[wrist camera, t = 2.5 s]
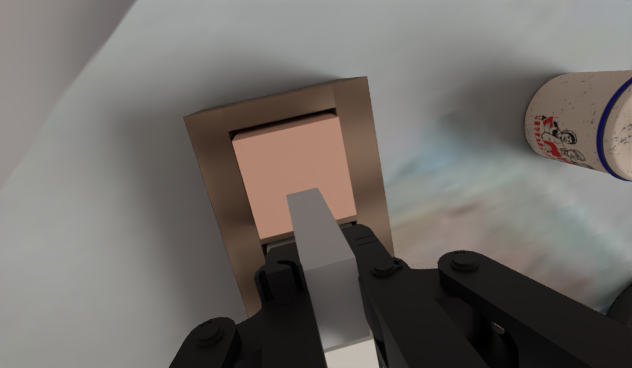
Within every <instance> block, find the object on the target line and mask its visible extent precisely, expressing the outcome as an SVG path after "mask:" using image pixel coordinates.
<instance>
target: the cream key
mask: <svg viewBox="0 0 632 368" xmlns="http://www.w3.org/2000/svg"><path fill="white" fill-rule="evenodd" d="M368 325H369V324H368ZM369 330H370V336H367V337H364V338H360V339H357V340H353V341H350V342H346V343H343V344H340V345H336V346H333V347H329V348H326V349H323V350H324V354H325V358H326V362H327V366H328V368H379V364H378V359H377V354H376V348H375V343H374V338H373V333H372V331H371V329H370V327H369ZM383 368H384V367H383Z"/></svg>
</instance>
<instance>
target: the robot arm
mask: <svg viewBox="0 0 632 368" xmlns="http://www.w3.org/2000/svg"><path fill="white" fill-rule="evenodd" d="M286 198H287V202H288V207H289V212H290V216H291V221H292V226H293V230H294V235H295V239H296V242H292V243H288V244H285V245H281V246H277V247H273V248H270V250H269V251H268V253H267V255H266V256H265V265H263V266H261V267H260V268H259V269H258V270H257V271H256V273H255V275H254V281H255V284H256V287H257V290H258V294H259V297H260V300H261V309H260V310H259V311H258V312H257V313H256V314H255V315H253V316H252V317H250V318H248V319H247V320H245V321H243V322H241V323H239V324H237V325H236V324H235V322H234V320H232V319H230V318H228V317H218V318H214V319H210V320H208V321H206V322H204V323H202V324H200V325H199V326H197V327H196V328H195V329H193V330H192V331H191V332H190V334H189V335H188V336H187V337H186V339H185V340H184V342H183V344H182V346H181V347H180V349H179V351H178V352H177V354H176V356H175V358H174V359H173V361H172V363H171V365H170V366H169V368H328V366H327V362H326V358H325V354H324V350H323V349H326V348H329V347H333V346H336V345H340V344H343V343H346V342H350V341H353V340H357V339H360V338H364V337H367V336H370V330H369V327H370V329H371V331H372V333H373V338H374V343H375V348H376V354H377V359H378V364H379V368H383V367H384V368H632V285H631V286H630V287H629V288H628V289H627V290H626V291H625V292H624V293H623V294H622V295H621V296H620V297H619V298H618V299H617V301H616V302H615V303H614V305H613V306H612V308H611V309H610V311H609V313H608V315H607V316H605V315H603V314H601V313H599V312H597V311H595V310H593V309H591V308H589V307H587V306H585V305H583V304H581V303H579V302H577V301H575V300H573V299H571V298H569V297H567V296H565V295H563V294H561V293H559V292H557V291H555V290H553V289H551V288H549V287H547V286H545V285H543V284H541V283H539V282H537V281H535V280H533V279H531V278H529V277H527V276H524V275H522V274H520V273H518V272H516V271H514V270H512V269H510V268H508V267H506V266H504V265H502V264H500V263H498V262H496V261H494V260H492V259H490V258H488V257H486V256H484V255H482V254H479V253H476V252H473V251H465V250H459V251H453V252H449V253H446V254H444V255H443V256H442V257H440V259H439V261H438V268H436V269H411V268H410V267H409V266H408V265H407V263H405V262H404V261H403V260H401V259H399V258H395V257H392V256H391V255H390V254H389V252H388V251H387V250H386V248H385V247H384V246H383V244H382V243H381V242H380V241H379V239H378V238H377V236H375V234H374V232H373V231H372V230H371V228H369V227H367V226H365V225H363V224H357V225H354V226H350V227H346V228H342V229H340V228H339V226H338V224H337V222H336V220H335V218H334V217H333V215H332V213H331V211H330V209H329V207H328V205H327V204H326V202H325V200H324V198H323V196H322V194H321V192H320V191H319V189H318V187H317V188H313V189H309V190H305V191H300V192H296V193H292V194H288V195H286ZM494 323H496V324H497V325H499V326H500V327H502V328H503V329H504V330H503V329H501V328H499V327H498V326H497V325H495V324H494ZM368 324H369V325H368Z"/></svg>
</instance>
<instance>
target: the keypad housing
mask: <svg viewBox="0 0 632 368" xmlns="http://www.w3.org/2000/svg"><path fill="white" fill-rule="evenodd" d="M325 111H326V112H328V113H331V114H333V115H335V116H338V117H339V121H340V126H341V132H342V137H343V143H344V148H345V154H346V159H347V164H348V170H349V175H350V181H351V186H352V191H353V197H354V202H355V208H356V213H357V215H353V216H349V217H345V218H342V219H338V220H336V222H337V224H338V225H340V224H344V223H347V222H351V224H352V225H353V226H354V225H357V224H363V225H365V226H367V227H369V228H371V230H372V231H373V232H374V234H375V236H377V238H378V239H379V241H380V242H381V243H382V244H383V246H384V247H385V248H386V250H387V251H388V252H389V254H390V255H391V256H392V257H395V256H394V249H393V243H392V236H391V230H390V223H389V217H388V210H387V203H386V197H385V190H384V184H383V177H382V171H381V164H380V158H379V151H378V145H377V138H376V132H375V125H374V119H373V112H372V106H371V99H370V93H369V86H368V80H367V76H366V77H355V78H344V79H340V80H335V81H331V82H326V83H322V84H317V85H313V86H308V87H304V88H299V89H295V90H290V91H286V92H281V93H276V94H272V95H267V96H263V97H258V98H254V99H249V100H245V101H240V102H236V103H231V104H227V105H222V106H218V107H213V108H209V109H204V110H200V111H198V112H195V113H193V114H190V115H187V116H185V117H183V118H184V121H185V124H186V127H187V130H188V133H189V136H190V139H191V142H192V145H193V149H194V152H195V155H196V158H197V161H198V164H199V167H200V170H201V173H202V176H203V179H204V182H205V185H206V188H207V191H208V195H209V198H210V201H211V204H212V207H213V210H214V213H215V216H216V219H217V222H218V225H219V228H220V231H221V234H222V238H223V241H224V244H225V247H226V250H227V253H228V256H229V259H230V262H231V265H232V268H233V271H234V274H235V277H236V280H237V284H238V287H239V290H240V293H241V296H242V299H243V302H244V305H245V308H246V311H247V314H248V317H249V318H250V317H252V316H253V315H255V314H256V313H257V312H258V311H259V310H260V309H261V300H260V297H259V294H258V290H257V287H256V284H255V281H254V275H255V273H256V271H257V270H258V269H259V268H260V267H261V266H263V265H265V256H266V255H267V243H269V242H273V241H277V240H281V239H285V238H289V237H293V236H295V235H294V231H291V232H287V233H283V234H279V235H275V236H271V237H267V238H263V239H260V237H259V234H258V230H257V227H256V223H255V220H254V216H253V213H252V209H251V206H250V203H249V199H248V196H247V192H246V189H245V185H244V182H243V178H242V175H241V171H240V168H239V164H238V161H237V157H236V154H235V150H234V147H233V144H232V141H233V139H234V137H235V135H236V134H237V132H238V131H241V130H246V129H250V128H255V127H259V126H263V125H268V124H272V123H277V122H281V121H285V120H290V119H294V118H299V117H303V116H307V115H312V114H316V113H320V112H325Z"/></svg>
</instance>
